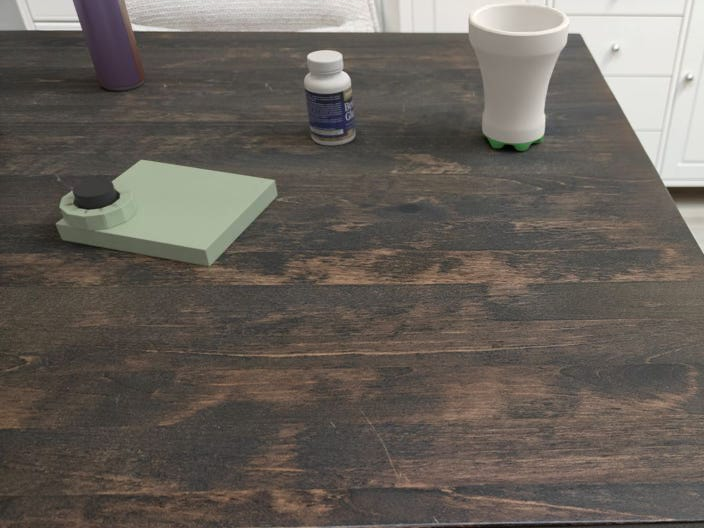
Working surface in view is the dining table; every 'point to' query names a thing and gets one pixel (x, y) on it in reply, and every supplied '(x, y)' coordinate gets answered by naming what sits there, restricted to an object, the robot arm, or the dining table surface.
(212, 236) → the scale
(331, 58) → the pill bottle
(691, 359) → the dining table surface
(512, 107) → the cup
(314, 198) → the dining table surface
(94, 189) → the button
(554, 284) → the dining table surface
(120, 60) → the purple tall cylinder
